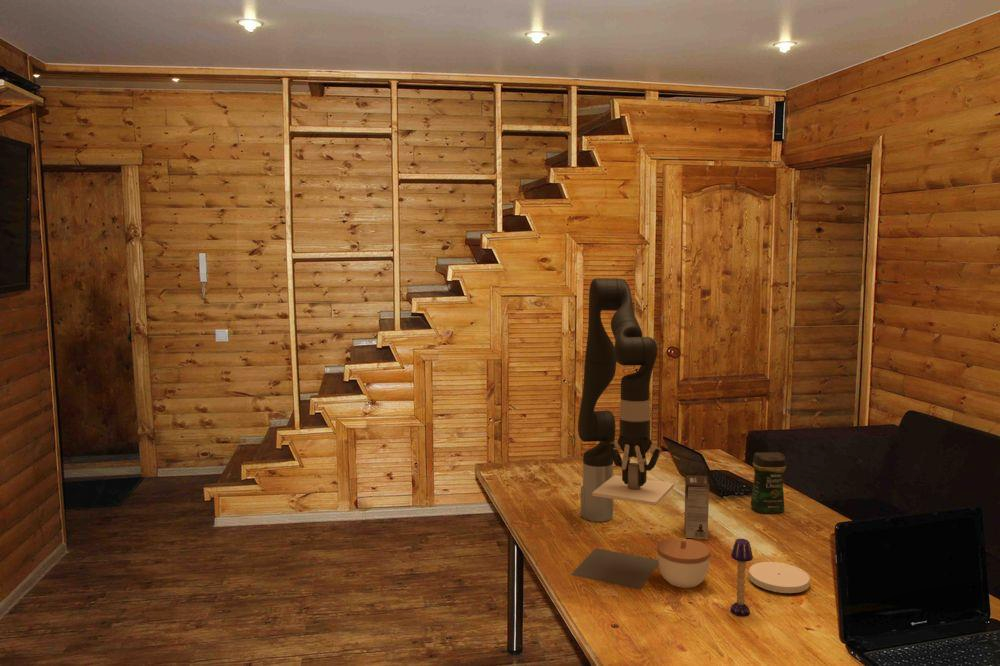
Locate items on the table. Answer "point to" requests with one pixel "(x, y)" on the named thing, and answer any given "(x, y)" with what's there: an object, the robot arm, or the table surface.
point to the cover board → (636, 496)
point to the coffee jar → (768, 482)
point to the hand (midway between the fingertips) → (634, 484)
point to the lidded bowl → (683, 561)
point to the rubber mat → (616, 568)
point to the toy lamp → (741, 575)
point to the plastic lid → (779, 577)
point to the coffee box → (696, 506)
